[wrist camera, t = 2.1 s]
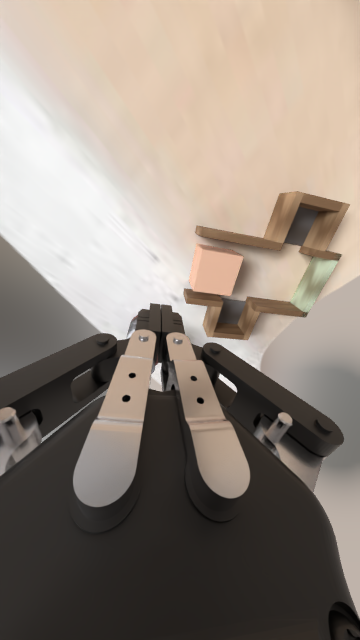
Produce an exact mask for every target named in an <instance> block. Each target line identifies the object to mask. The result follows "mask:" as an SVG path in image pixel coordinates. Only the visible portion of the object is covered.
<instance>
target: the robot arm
mask: <svg viewBox="0 0 360 640" xmlns="http://www.w3.org/2000/svg"><path fill="white" fill-rule="evenodd" d="M157 354H158V363H162V367H161V382H162V391H163V392H160V391H156V390H152V389H149V387H150V380H151V373H152V369H153V366H154V362H156V361H157ZM90 368H91V370H90V371H88V372H87V373H85V374H83V375H82V376H80V377H78V378H77V379H75V380H74V381H73V379H74V378H75V377H76V376H78V375H80V374H81V373H83V372H85V371H86V370H88V369H90ZM220 373H221V374H222V375H223V376H224V377H226V378H227V379H228V380H230V381H231V382H232V383H233V384H234V385H235V386H236V388H237V393H236V392H235V391H234V390H232V389H231V388H230V387H229V386H227V385H226V384H225V383H224V382H222V381H221V380H220V379H219V378H218V377H219V374H220ZM106 389H108V391H107V394H106V395H105V396H103V397H101V398H99V399H97V400H95V401H94V402H92V403H91V404H89V405H88V406H87V407H86V408H85V409H83V410H82V411H81V412H79V413H78V414H77V415H76V416H74V417H73V418H72V419H71V420H70V421H68V422H67V423H66V424H65V425H63V426H62V427H61V428H59V429H58V430H57V431H56V432H55V433H53V434H52V435H51V436H50V437H48V438H47V439H46V440H45V441H43V442H42V438H43V437H44V436H46V435H47V434H48V433H50V432H51V431H52V430H54V429H55V428H56V427H58V426H59V425H60V424H62V423H63V422H64V421H66V420H67V419H68V418H69V417H71V416H72V415H74V414H75V413H76V412H78V411H79V410H80V409H81V408H83V407H84V406H86V405H87V404H88V403H89V402H91V401H92V400H93V399H95V398H96V397H97V396H99V395H100V394H101V393H103V392H104V391H105V390H106ZM343 441H344V437H343V434H342V432H341V430H340V429H339V427H338V426H337V425H336V424H335V423H334V422H333V421H332V420H331V419H330V418H328V417H327V416H325V415H324V414H322V413H321V412H319V411H318V410H316V409H315V408H313V407H312V406H311V405H309V404H308V403H306V402H305V401H303V400H302V399H300V398H299V397H297V396H296V395H294V394H293V393H291V392H290V391H288V390H287V389H285V388H284V387H282V386H281V385H279V384H278V383H276V382H275V381H273V380H272V379H270V378H269V377H267V376H266V375H264V374H263V373H261V372H260V371H258V370H257V369H255V368H254V367H252V366H251V365H249V364H248V363H246V362H245V361H243V360H242V359H240V358H239V357H237V356H236V355H235V354H233V353H232V352H230V351H229V350H227V349H226V348H224V347H223V346H221V345H219V344H216V343H206V344H205V345H204V346H203V348H202V347H199V346H196V345H193V344H191V342H190V340H189V338H188V337H187V336H186V335H185V332H184V327H183V322H182V317H181V316H180V315H179V314H178V313H174V312H172V306H170V305H161V310H160V304H152V303H150V310H146V309H142V310H141V311H139V312H138V317H137V322H136V327H135V332H133V333H132V335H131V337H130V338H128V339H125V340H118V341H117V339H116V337H115V336H113V335H111V334H106V333H102V334H97V335H94V336H92V337H89V338H87V339H85V340H83V341H81V342H78V343H76V344H74V345H72V346H70V347H67V348H65V349H63V350H61V351H59V352H56V353H54V354H52V355H50V356H48V357H45V358H43V359H41V360H39V361H37V362H35V363H32V364H30V365H28V366H26V367H23V368H21V369H19V370H17V371H15V372H12V373H10V374H8V375H6V376H4V377H2V378H0V640H360V618H359V616H358V614H357V611H356V609H355V606H354V603H353V601H352V598H351V595H350V592H349V589H348V586H347V583H346V580H345V577H344V573H343V569H342V566H341V562H340V557H339V552H338V547H337V542H336V538H335V535H334V532H333V528H332V526H331V523H330V521H329V519H328V517H327V515H326V513H325V511H324V509H323V507H322V505H321V504H320V502H319V501H318V499H317V498H316V496H315V495H314V493H313V492H314V488H315V485H316V481H317V478H318V474H319V471H320V467H321V464H322V461H323V460H324V459H325V458H326V457H328V456H329V455H330V454H331V453H332V452H333V451H334V450H336V449H337V448H338V447H339V446H340V445H341V444H342V443H343ZM41 442H42V443H41Z"/></svg>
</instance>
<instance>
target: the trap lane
mask: <svg viewBox="0 0 360 640" xmlns="http://www.w3.org/2000/svg"><path fill="white" fill-rule="evenodd" d="M349 206H350V204H346V203H342V202H338V201H334V200H330V199H326V198H322V197H318V196H314V195H310V194H306V193H302V192H298V191H297V192H289V193H281V194H279V197H278V200H277V202H276V205H275V208H274V211H273V213H272V216H271V219H270V222H269V224H268V227H267V230H266V233H265V235H264V238H259V237H254V236H248V235H243V234H238V233H233V232H228V231H222V230H217V229H212V228H207V227H201V226H197V227H196V232H195V233H196V234H198V235H199V236H202V237H208V238H213V239H219V240H224V241H230V242H235V243H241V244H246V245H252V246H257V247H263V248H268V249H274V250H279V251H280V250H281V248H282V245H283V243H284V242H285V243H290V244H295V245H301V248H300V250H299V252H301V253H304V254H307V255H310V256H313V258H312V260H311V262H310V264H309V266H308V268H307V270H306V272H305V274H304V276H303V278H302V280H301V282H300V284H299V286H298V288H297V289H296V291H295V293H294V295H293V297H292V299H291V301H290V302H284V301H277V300H269V299H261V298H254V297H247V299H246V302H245V301H237V300H230V299H222V298H220V296H219V295H218V294H211V293H204V292H197V291H193V289H185V288H184V297H185V301H186V303H187V304H196V305H204V306H208V307H207V311H206V314H205V318H204V322H203V327H204V330H205V332H206V335H207V337H218V338H229V339H241V340H248V339H249V337H250V334H251V332H252V330H253V327H254V325H255V323H256V321H257V318H258V316H259V314H260V312H264V313H272V314H281V315H289V316H298V317H306V316H307V314H308V313H309V311H310V309H311V307H312V306H313V304H314V302H315V301H316V299H317V297H318V295H319V294H320V292H321V290H322V288H323V287H324V285H325V283H326V282H327V280H328V278H329V276H330V275H331V273H332V271H333V269H334V268H335V266H336V264H337V263H338V261H339V259H340V257H341V256H342V254H338V253H334V252H330V251H326V249H327V247H328V245H329V243H330V241H331V240H332V238H333V236H334V234H335V232H336V230H337V228H338V226H339V224H340V223H341V221H342V219H343V217H344V215H345V213H346V211H347V209H348V208H349Z"/></svg>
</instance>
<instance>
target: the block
mask: <svg viewBox="0 0 360 640" xmlns="http://www.w3.org/2000/svg"><path fill="white" fill-rule="evenodd" d="M243 258H244V256H242V255H240V254H238V253H236V252H235V251H233V250H229V249H223V248H218V247H212V246H207V245H201V244H196V248H195V253H194V258H193V263H192V267H191V272H190V277H189V282H190V284H191V287H192V289H193V291H197V292H204V293H211V294H219V295H226V296H231V293H232V290H233V287H234V284H235V281H236V278H237V276H238V273H239V270H240V267H241V264H242V261H243Z"/></svg>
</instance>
